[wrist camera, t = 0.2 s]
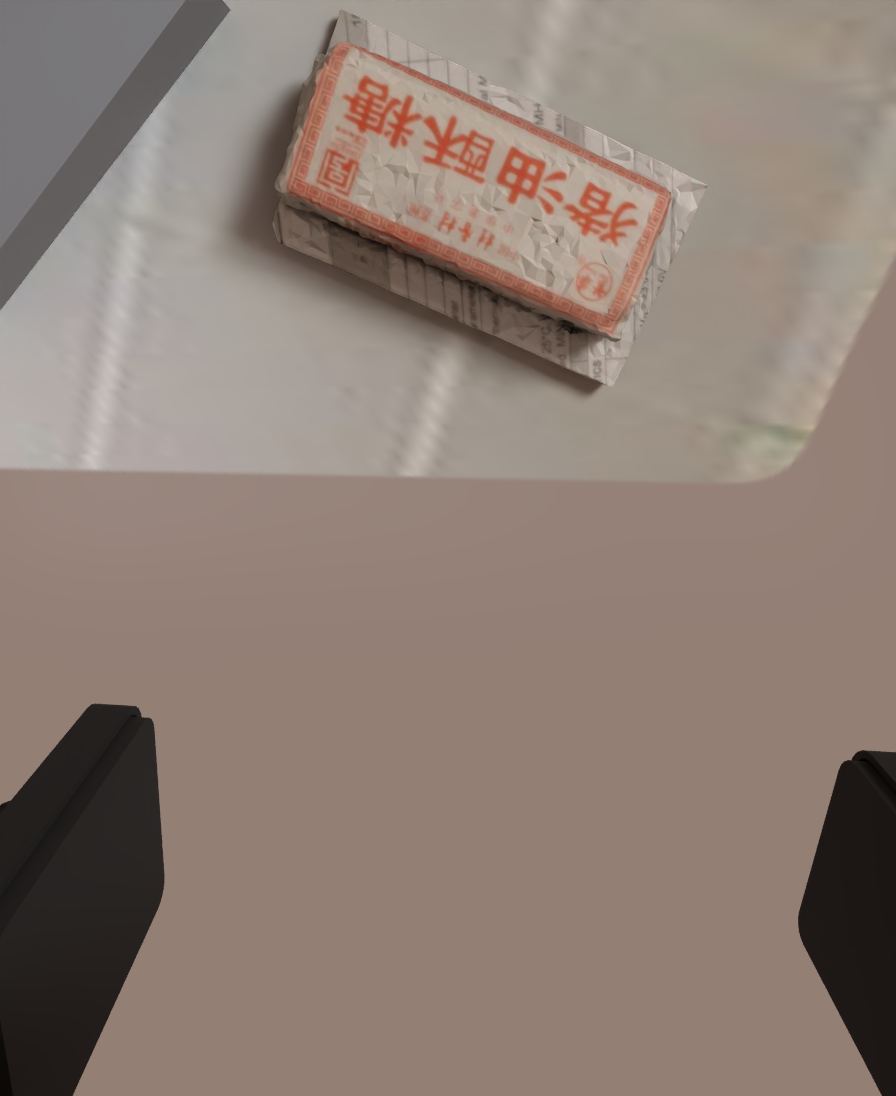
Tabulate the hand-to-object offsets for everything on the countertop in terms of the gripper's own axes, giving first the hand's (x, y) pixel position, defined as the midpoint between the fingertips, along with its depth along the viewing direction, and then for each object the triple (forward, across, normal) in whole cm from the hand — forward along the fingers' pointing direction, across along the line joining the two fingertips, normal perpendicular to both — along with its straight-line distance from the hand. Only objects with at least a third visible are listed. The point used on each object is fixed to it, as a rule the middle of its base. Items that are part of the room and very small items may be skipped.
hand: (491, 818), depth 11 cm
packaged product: (+32, 0, -10) cm, 33 cm away
